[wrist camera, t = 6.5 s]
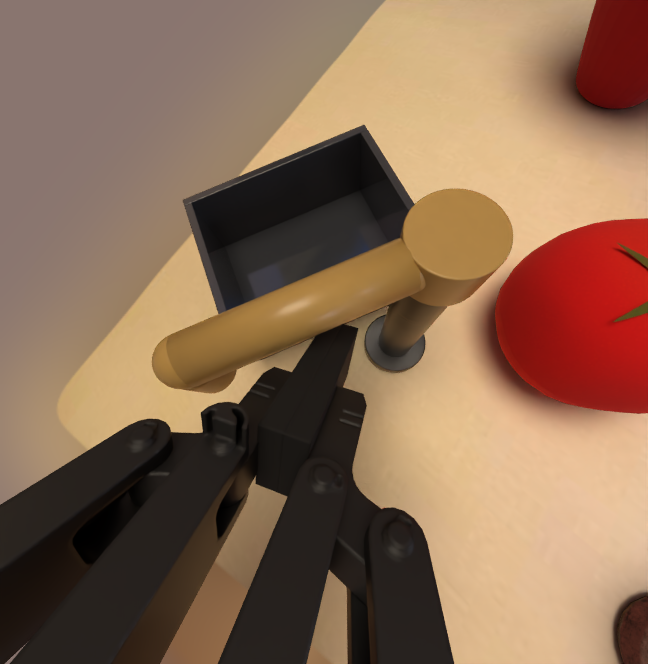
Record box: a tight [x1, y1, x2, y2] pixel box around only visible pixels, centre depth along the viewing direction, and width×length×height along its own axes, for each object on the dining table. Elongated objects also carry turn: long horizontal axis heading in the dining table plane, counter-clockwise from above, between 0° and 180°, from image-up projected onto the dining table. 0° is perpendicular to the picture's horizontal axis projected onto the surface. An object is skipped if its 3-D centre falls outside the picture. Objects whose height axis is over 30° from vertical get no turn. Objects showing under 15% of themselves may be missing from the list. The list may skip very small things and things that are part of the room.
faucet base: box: [365, 296, 447, 373], centre depth 18 cm, size 5×5×13 cm
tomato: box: [495, 219, 648, 414], centre depth 18 cm, size 12×12×10 cm
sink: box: [183, 125, 415, 360], centre depth 24 cm, size 12×15×7 cm
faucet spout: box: [152, 189, 513, 393], centre depth 11 cm, size 13×3×3 cm, turn 112°
